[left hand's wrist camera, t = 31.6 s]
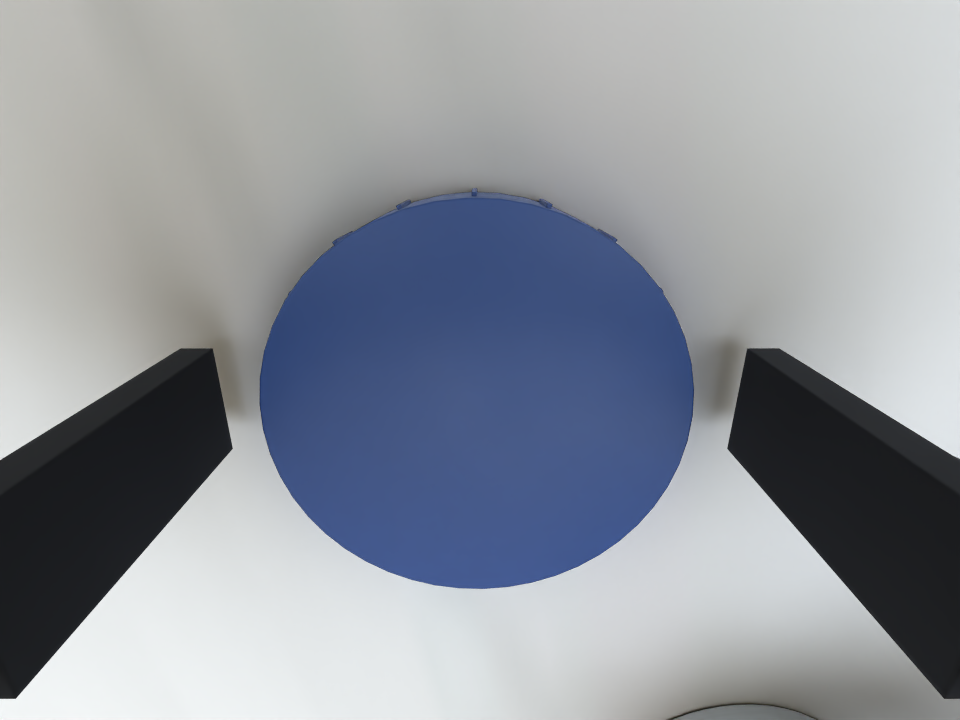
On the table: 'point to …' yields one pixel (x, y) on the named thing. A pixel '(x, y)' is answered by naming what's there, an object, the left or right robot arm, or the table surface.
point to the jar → (745, 713)
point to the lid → (476, 391)
